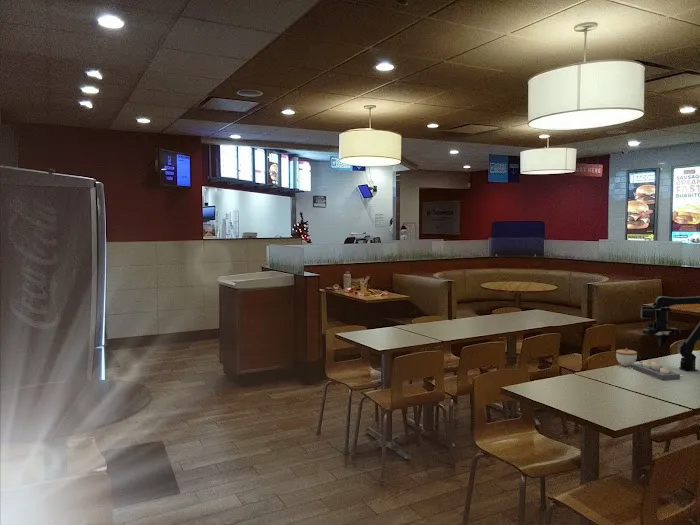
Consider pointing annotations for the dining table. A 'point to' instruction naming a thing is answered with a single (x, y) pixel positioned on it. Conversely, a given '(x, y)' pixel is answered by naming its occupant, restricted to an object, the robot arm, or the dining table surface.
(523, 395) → the dining table surface
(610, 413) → the dining table surface
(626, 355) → the lidded jar
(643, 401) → the dining table surface
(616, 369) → the dining table surface
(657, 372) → the board
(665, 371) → the button
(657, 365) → the button
